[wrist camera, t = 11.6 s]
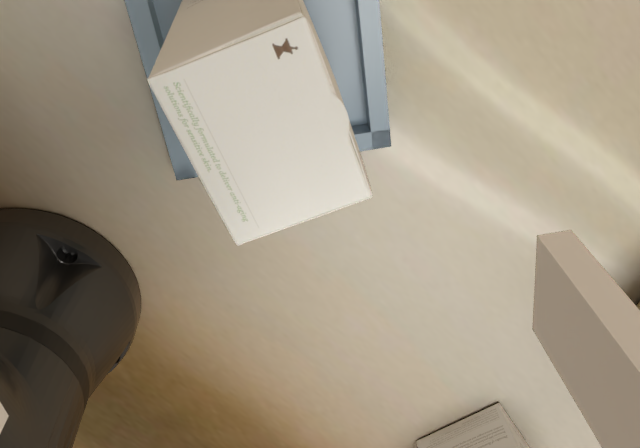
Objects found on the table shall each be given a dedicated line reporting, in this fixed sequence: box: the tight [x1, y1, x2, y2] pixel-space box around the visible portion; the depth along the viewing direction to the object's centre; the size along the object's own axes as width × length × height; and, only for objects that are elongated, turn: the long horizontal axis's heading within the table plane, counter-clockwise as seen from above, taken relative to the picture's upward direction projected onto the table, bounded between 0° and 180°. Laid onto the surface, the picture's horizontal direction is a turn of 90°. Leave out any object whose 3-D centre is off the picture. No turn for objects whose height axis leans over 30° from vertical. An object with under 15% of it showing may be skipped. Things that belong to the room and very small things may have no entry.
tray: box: [124, 0, 391, 180], centre depth 36 cm, size 14×15×2 cm
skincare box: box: [147, 0, 373, 245], centre depth 30 cm, size 8×7×16 cm
